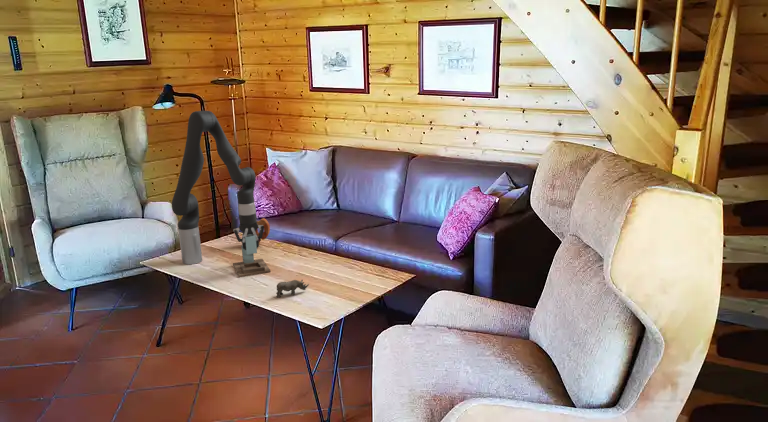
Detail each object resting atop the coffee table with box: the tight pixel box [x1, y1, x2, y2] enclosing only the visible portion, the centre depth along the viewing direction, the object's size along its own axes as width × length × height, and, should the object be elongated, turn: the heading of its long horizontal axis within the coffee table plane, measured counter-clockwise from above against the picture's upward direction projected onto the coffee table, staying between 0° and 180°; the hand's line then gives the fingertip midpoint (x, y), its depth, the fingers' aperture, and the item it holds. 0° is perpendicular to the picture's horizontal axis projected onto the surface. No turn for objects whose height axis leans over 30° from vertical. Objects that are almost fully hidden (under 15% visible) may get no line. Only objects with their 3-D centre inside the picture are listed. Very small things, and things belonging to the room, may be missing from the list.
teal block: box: [245, 234, 258, 255], centre depth 259 cm, size 4×4×8 cm
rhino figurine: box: [275, 279, 310, 298], centre depth 233 cm, size 4×14×6 cm, turn 110°
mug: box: [255, 217, 271, 246], centre depth 295 cm, size 15×8×15 cm, turn 81°
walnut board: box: [232, 245, 271, 278], centre depth 264 cm, size 18×14×9 cm
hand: (250, 248), depth 259 cm, fingers closed on teal block, 4 cm apart
